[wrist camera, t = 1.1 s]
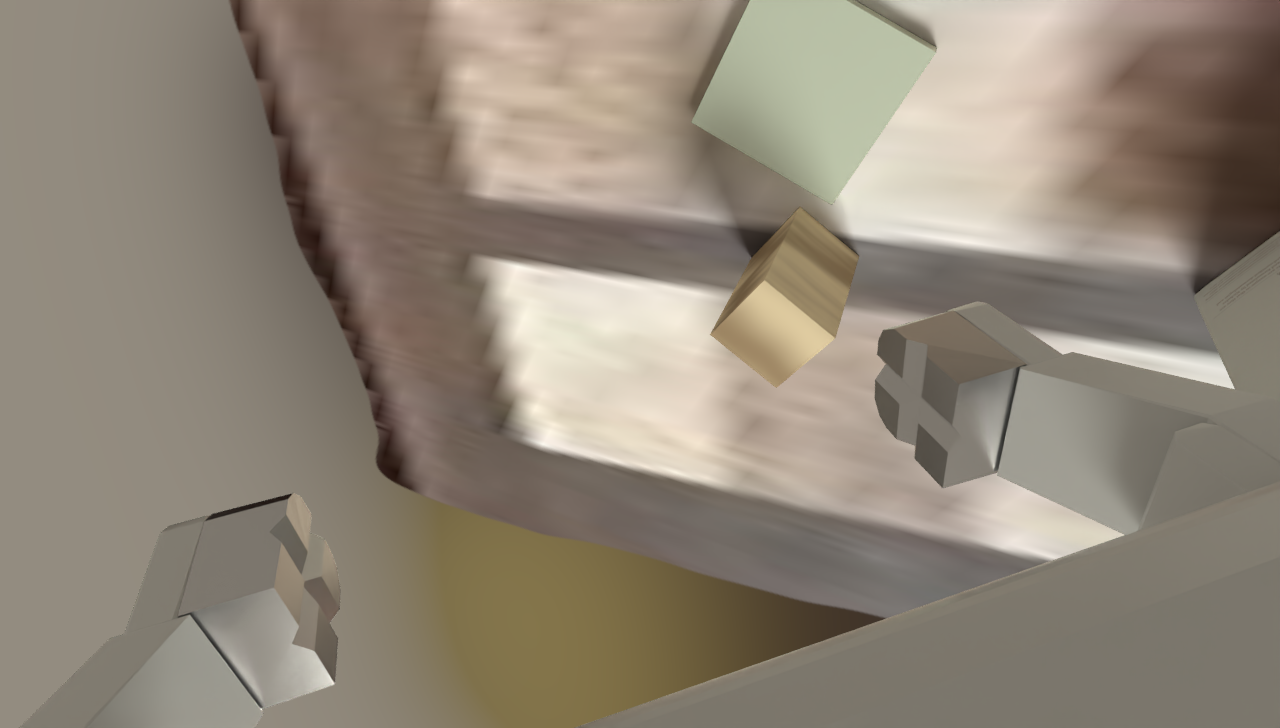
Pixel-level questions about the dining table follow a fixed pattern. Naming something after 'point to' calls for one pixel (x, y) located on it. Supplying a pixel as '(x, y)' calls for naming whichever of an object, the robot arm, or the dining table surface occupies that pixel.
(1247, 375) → the supplement box
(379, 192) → the dining table surface
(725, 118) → the tile
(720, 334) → the beech block
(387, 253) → the dining table surface
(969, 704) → the robot arm
